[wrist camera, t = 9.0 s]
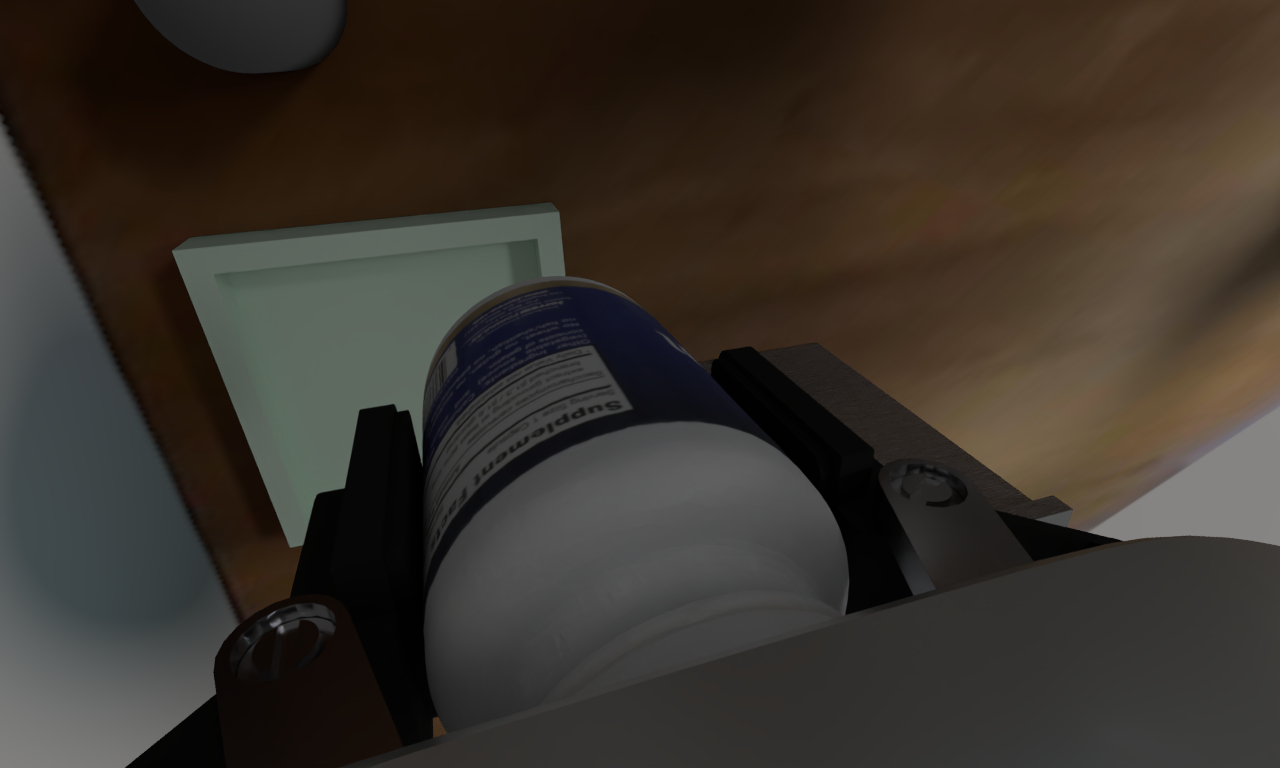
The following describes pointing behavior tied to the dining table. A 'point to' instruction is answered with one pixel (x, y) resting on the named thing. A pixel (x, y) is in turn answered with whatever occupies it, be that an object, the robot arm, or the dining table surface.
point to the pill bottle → (599, 507)
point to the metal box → (897, 427)
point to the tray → (347, 325)
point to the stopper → (250, 31)
